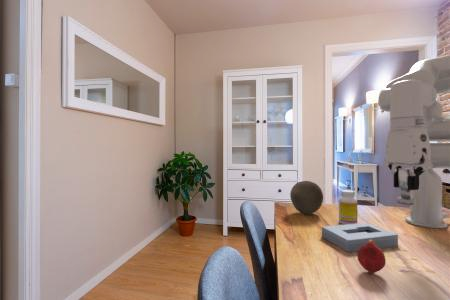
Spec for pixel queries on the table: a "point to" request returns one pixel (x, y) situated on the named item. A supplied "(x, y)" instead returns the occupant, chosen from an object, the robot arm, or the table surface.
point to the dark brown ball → (306, 197)
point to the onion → (371, 257)
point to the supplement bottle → (347, 207)
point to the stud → (404, 188)
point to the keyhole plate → (358, 236)
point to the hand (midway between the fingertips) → (405, 187)
